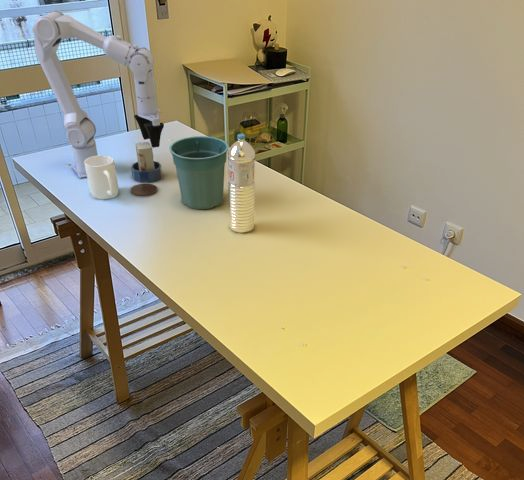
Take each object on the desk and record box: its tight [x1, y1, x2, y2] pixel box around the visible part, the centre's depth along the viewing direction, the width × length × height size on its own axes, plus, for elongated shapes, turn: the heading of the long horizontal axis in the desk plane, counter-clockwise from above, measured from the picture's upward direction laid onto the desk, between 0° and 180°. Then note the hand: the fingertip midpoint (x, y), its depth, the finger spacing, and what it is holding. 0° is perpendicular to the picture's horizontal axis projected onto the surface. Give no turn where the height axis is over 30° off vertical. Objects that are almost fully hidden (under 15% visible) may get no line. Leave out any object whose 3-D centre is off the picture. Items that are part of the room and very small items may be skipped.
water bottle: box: [227, 133, 256, 234], centre depth 139 cm, size 7×7×25 cm
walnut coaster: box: [130, 183, 158, 197], centre depth 164 cm, size 8×8×1 cm
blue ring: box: [130, 160, 163, 184], centre depth 171 cm, size 9×9×4 cm
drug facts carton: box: [135, 141, 155, 171], centre depth 169 cm, size 5×4×10 cm
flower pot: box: [168, 135, 230, 210], centre depth 154 cm, size 16×16×16 cm
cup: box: [84, 154, 120, 200], centre depth 158 cm, size 8×12×10 cm
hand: (151, 142), depth 166 cm, fingers open, 7 cm apart
